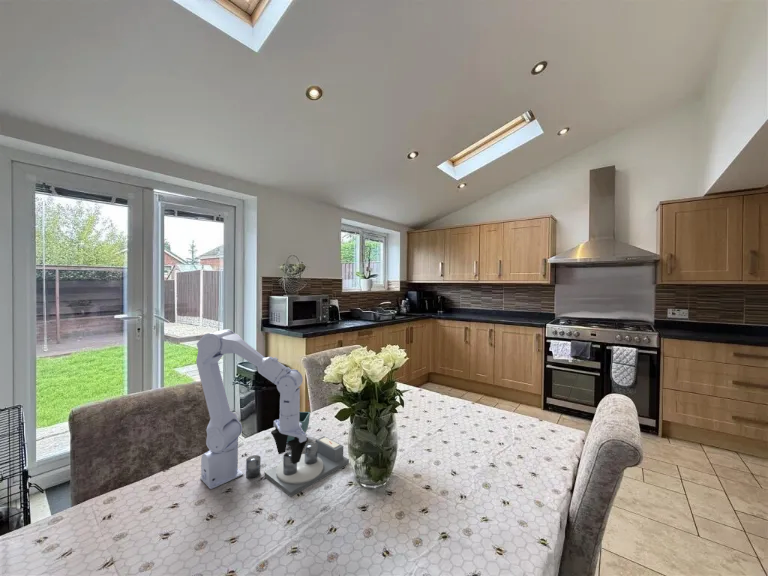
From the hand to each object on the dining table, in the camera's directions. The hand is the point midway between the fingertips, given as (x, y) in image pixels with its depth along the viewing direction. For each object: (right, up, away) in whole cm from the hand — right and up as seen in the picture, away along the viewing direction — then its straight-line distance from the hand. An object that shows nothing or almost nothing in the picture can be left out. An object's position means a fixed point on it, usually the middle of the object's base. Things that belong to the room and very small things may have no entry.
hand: (288, 457), depth 94 cm
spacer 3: (+5, -4, +6) cm, 9 cm away
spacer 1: (-12, -6, +2) cm, 13 cm away
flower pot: (-5, -7, +24) cm, 25 cm away
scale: (+5, -7, +5) cm, 10 cm away
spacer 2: (0, -4, 0) cm, 4 cm away
